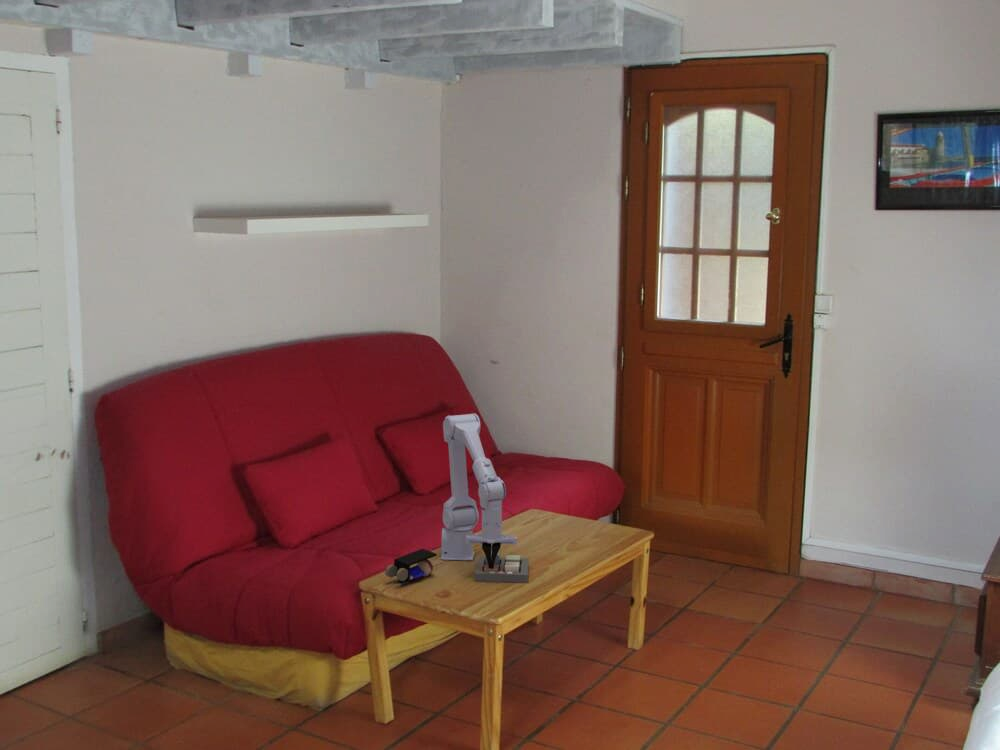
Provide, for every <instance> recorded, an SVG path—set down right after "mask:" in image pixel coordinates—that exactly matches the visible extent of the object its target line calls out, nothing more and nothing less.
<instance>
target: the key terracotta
mask: <svg viewBox="0 0 1000 750" xmlns="http://www.w3.org/2000/svg"><path fill="white" fill-rule="evenodd" d="M484 571H487V572H490V571H495V572H499V565H494V569H489V566H488V565H485V567H484Z"/></svg>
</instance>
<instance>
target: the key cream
mask: <svg viewBox="0 0 1000 750" xmlns="http://www.w3.org/2000/svg"><path fill="white" fill-rule="evenodd" d="M505 572H519V562H505Z"/></svg>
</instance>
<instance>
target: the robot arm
mask: <svg viewBox="0 0 1000 750" xmlns="http://www.w3.org/2000/svg"><path fill="white" fill-rule="evenodd" d="M481 428H482V427H481V420H480V417H479V415H477V414H476V412H475V413H474V412H473V413H467V414H457V415H447V416H445V418H444V420H443V422H442V430H443V439H444V440H443V441H444V442H445V443H447V444H448V445H447V446H448V459H449V473H450V487H451V497H449V498H448V499H447V500H446V501H445V502H444V503H443V511H442V522H443V525H444V527H442V530H441V547H440V551H441V560H445V561H473V560H474V556H475V553H476V552H475V551H474V550H473V544H481V549H482V551H483V552H484V556H485V555H486V558H487V561H488V566H489V569H494V562H495V559H496V556H497V554H498V552H499V551H500V550H501V547H502V546H501V545H513V546H517V544H518V536H513V535H505V534H503V533H502V530H503V529H502V528H503V527H502V525H503V524H502V523H503V520H502V519H503V517H502V516H503V500H504V499H505V498H506V496H507V489H506V485H505V482H504V480H502V479H501V478H500V476H498V475H497V472H496V471H495V468H494V466H493V463H492V460H490V459H489V458H488V457H486V455H485V452H484V451H485V450H484V449H483V445H482V441H481V438H480V433H481ZM466 448H467V451H468V452H469V454H470V456H471V459H472V461H473V464H472V466H471V467H472V471H473V474H474V476H475V479H476V481H477V483H478V490H477V492H478V494H477V495H478V497H479V505H480V507H481V534H473V531H474V530H473V529H475V528H476V527H475V526H477V524H478V522H479V519H480V517H479V516H480V514H479V510H478V508H477V502H476V500H474V499H473V498H472V497H470V496H469V487H468V485H469V483H468V473H467V455H466ZM491 551H492V560H491Z"/></svg>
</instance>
